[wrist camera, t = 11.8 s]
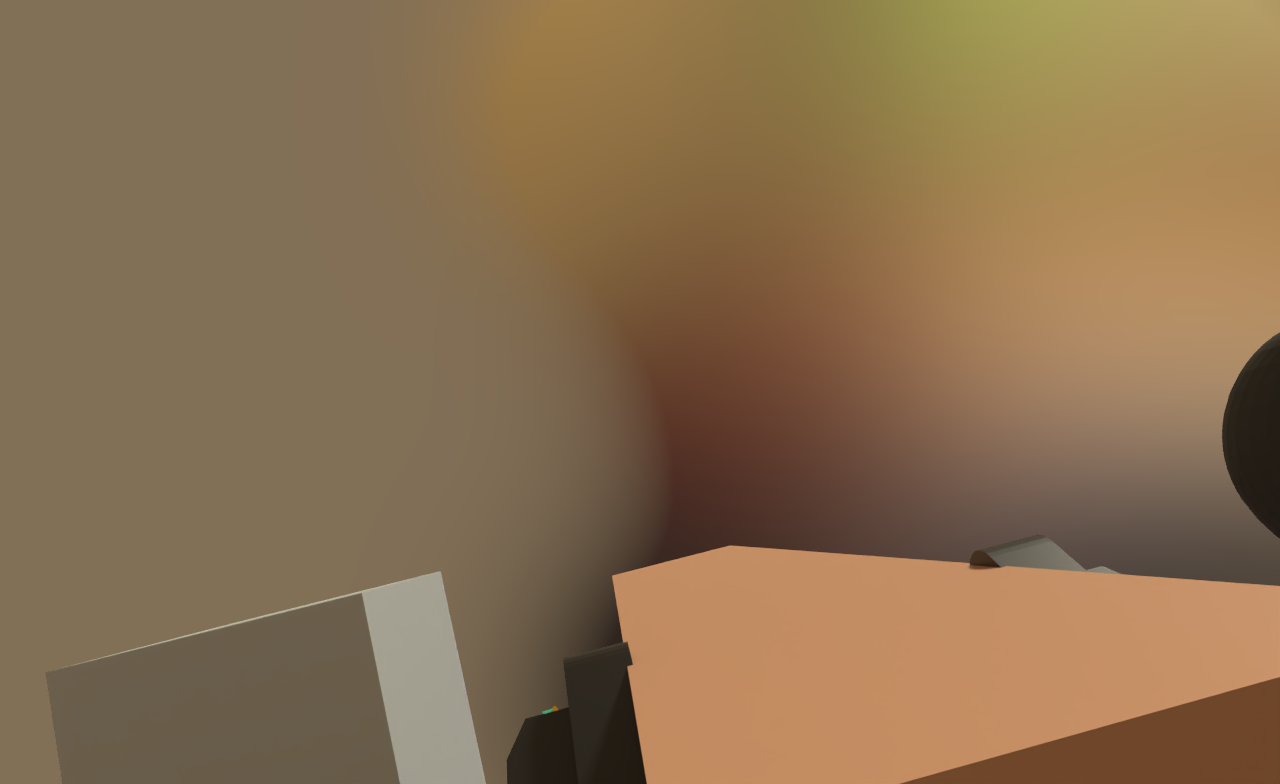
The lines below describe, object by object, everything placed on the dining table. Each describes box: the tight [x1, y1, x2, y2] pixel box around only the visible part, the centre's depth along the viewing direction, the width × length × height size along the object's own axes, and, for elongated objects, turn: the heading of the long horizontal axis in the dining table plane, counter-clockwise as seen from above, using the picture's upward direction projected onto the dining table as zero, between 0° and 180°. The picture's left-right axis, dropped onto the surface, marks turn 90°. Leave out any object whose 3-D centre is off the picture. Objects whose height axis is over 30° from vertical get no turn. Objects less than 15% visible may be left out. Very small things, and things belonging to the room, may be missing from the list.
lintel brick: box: [612, 546, 1280, 784], centre depth 16 cm, size 26×4×4 cm, turn 2°
